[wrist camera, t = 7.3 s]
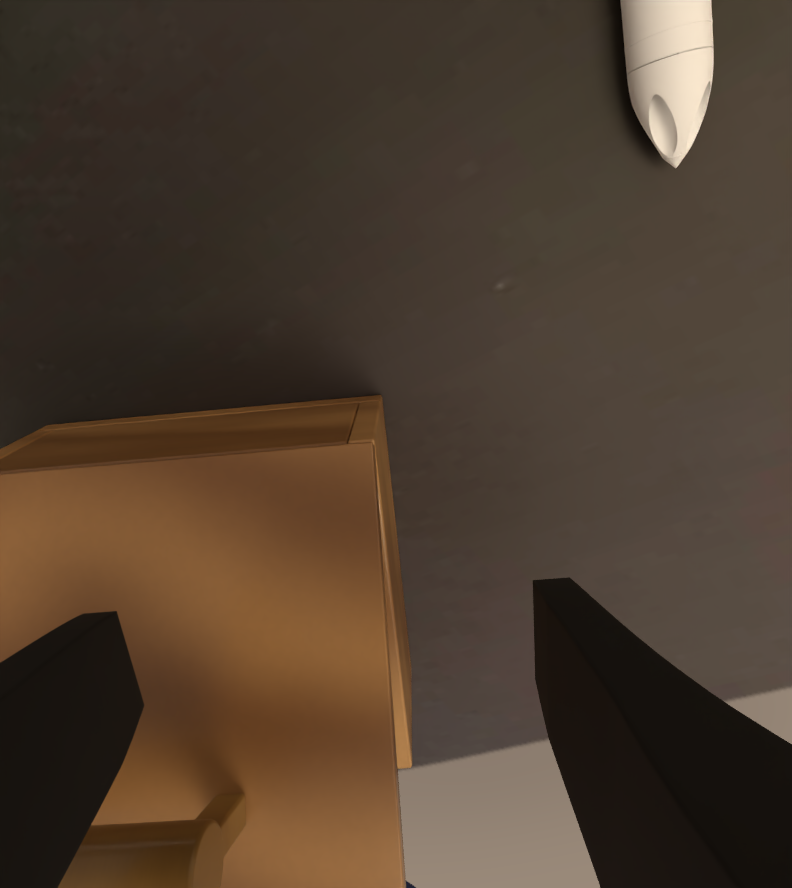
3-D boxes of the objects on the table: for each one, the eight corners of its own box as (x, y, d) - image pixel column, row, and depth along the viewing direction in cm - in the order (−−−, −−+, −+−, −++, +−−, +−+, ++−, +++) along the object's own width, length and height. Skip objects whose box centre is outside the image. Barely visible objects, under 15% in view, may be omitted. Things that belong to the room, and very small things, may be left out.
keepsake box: (411, 666, 23) (412, 769, 18) (125, 686, 23) (59, 790, 19) (382, 394, 19) (374, 439, 15) (47, 424, 20) (-57, 476, 15)
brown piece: (411, 964, 13) (401, 1147, 9) (-89, 985, 13) (-307, 1167, 9) (374, 445, 15) (353, 408, 11) (-57, 482, 15) (-225, 459, 12)
